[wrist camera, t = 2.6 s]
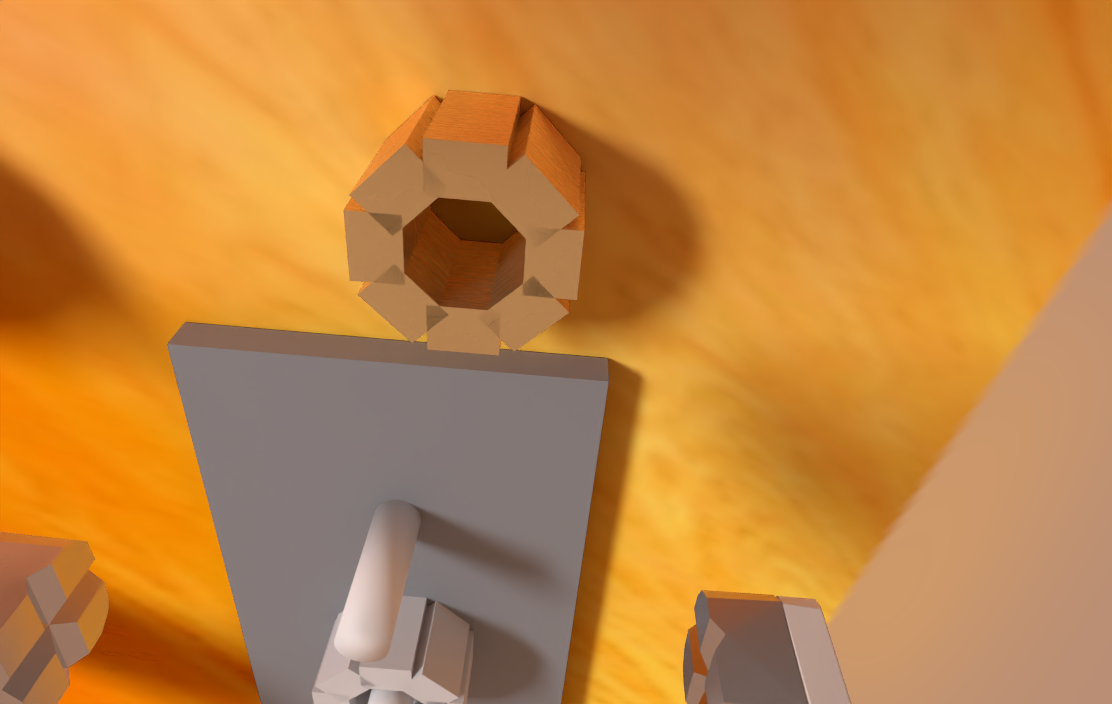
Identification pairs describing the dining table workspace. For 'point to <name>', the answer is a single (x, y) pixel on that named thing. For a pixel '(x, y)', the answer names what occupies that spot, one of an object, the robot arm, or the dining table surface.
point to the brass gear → (460, 265)
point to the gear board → (395, 445)
